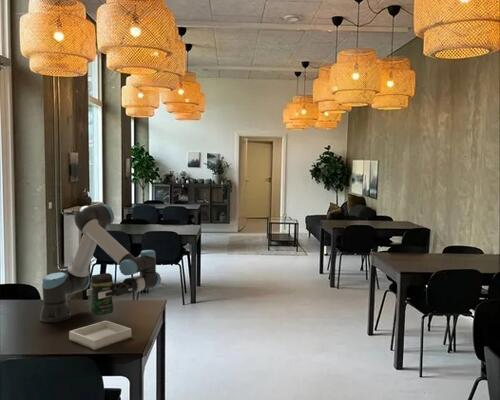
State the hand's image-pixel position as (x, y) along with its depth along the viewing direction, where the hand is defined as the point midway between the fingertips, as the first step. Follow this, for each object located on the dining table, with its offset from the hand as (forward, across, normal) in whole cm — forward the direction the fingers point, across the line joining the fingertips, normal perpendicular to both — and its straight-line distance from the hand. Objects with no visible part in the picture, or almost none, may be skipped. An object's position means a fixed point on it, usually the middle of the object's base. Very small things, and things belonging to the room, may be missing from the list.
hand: (93, 294), depth 213 cm
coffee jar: (-5, 0, -10) cm, 11 cm away
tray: (-5, +2, -22) cm, 23 cm away
